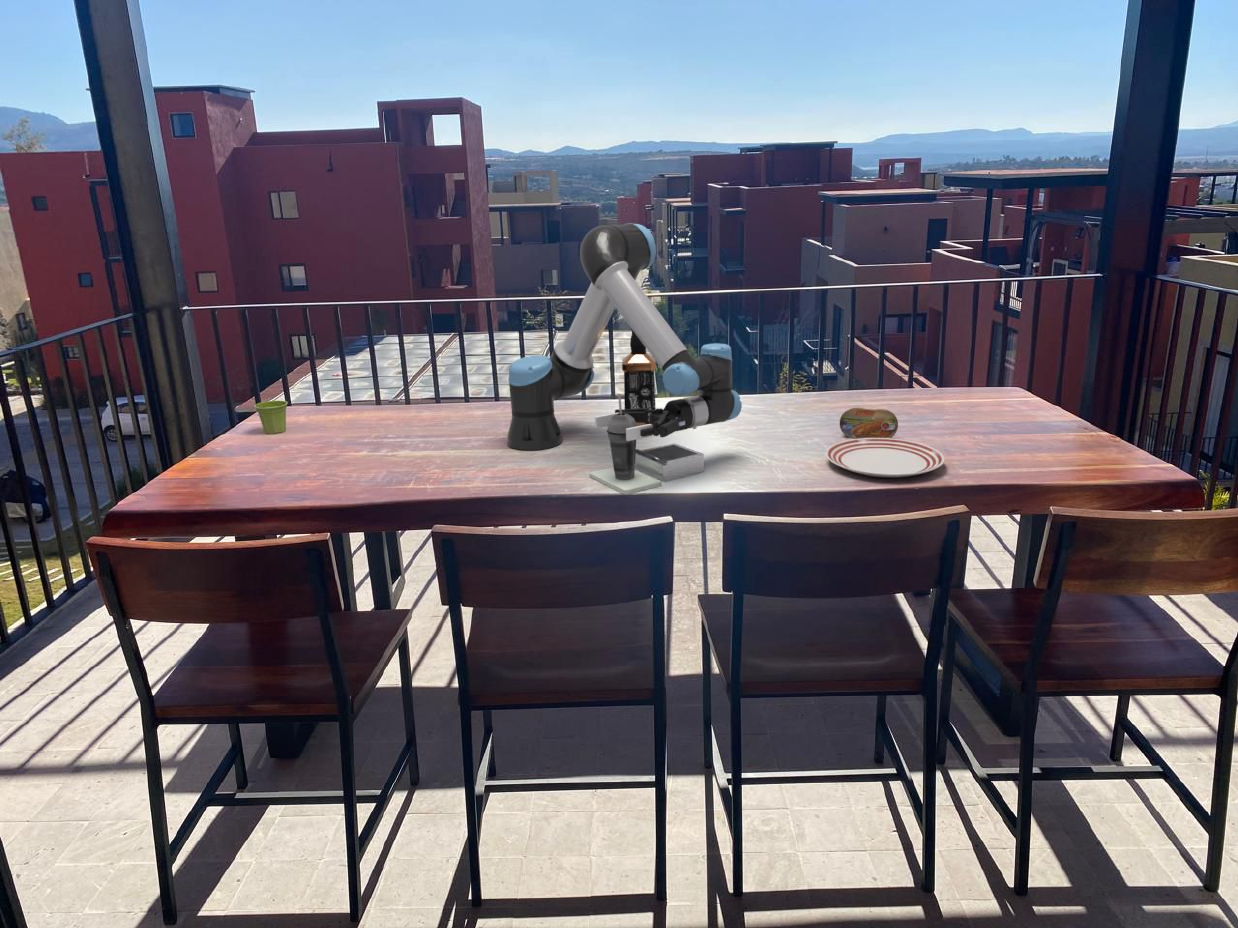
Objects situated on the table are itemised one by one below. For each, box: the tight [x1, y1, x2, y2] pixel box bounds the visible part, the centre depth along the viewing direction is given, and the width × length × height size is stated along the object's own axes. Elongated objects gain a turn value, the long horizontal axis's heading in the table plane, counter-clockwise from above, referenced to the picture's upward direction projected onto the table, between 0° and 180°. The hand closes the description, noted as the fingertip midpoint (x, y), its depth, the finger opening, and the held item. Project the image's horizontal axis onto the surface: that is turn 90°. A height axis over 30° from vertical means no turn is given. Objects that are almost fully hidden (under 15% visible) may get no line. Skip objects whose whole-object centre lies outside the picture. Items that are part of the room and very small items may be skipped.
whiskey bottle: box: [621, 327, 657, 427], centre depth 235 cm, size 10×10×32 cm
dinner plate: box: [825, 437, 946, 479], centre depth 198 cm, size 27×27×3 cm
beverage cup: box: [606, 393, 637, 480], centre depth 191 cm, size 7×7×20 cm
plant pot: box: [254, 400, 288, 435], centre depth 248 cm, size 9×9×9 cm
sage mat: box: [588, 467, 662, 496], centre depth 194 cm, size 16×10×1 cm, turn 32°
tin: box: [839, 407, 899, 440], centre depth 220 cm, size 15×3×8 cm, turn 62°
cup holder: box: [635, 442, 705, 482], centre depth 200 cm, size 12×12×5 cm
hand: (610, 428), depth 188 cm, fingers open, 13 cm apart
